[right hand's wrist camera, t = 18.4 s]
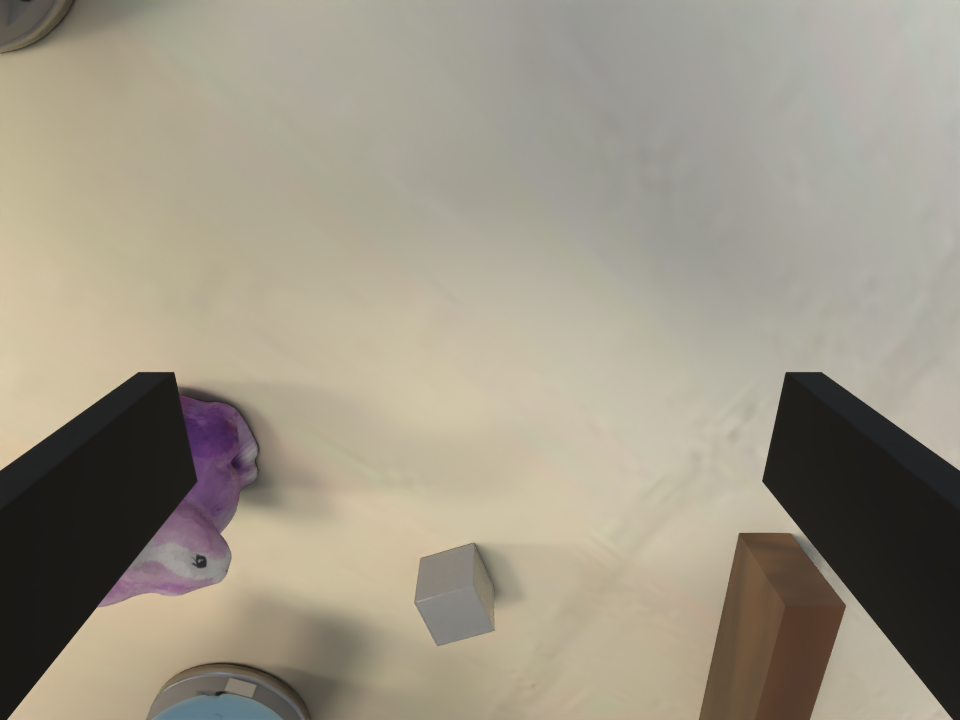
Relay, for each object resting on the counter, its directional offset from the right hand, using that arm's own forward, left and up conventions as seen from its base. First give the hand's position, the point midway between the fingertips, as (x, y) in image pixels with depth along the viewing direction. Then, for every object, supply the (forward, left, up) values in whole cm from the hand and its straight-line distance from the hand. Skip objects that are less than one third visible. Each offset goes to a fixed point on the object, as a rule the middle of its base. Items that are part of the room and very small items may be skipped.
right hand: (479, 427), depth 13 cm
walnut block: (+24, -39, -29) cm, 54 cm away
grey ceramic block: (-2, -30, -29) cm, 42 cm away
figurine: (-21, -17, -29) cm, 39 cm away
